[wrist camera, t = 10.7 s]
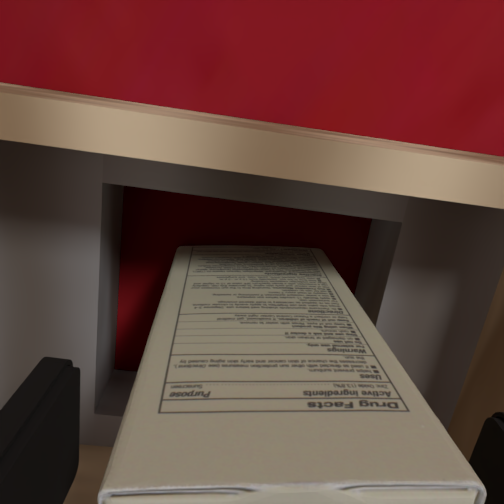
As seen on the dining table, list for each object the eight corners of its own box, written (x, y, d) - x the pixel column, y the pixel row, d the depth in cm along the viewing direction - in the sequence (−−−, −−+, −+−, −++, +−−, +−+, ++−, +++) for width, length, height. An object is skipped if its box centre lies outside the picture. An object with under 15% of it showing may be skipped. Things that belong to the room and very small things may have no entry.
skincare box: (177, 335, 19) (91, 681, 8) (176, 241, 18) (68, 491, 6) (322, 338, 20) (447, 677, 8) (332, 246, 18) (500, 493, 7)
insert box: (513, 158, 17) (684, 192, 11) (420, 443, 22) (501, 593, 15) (-13, 80, 16) (-193, 63, 9) (1, 404, 20) (-114, 553, 13)
